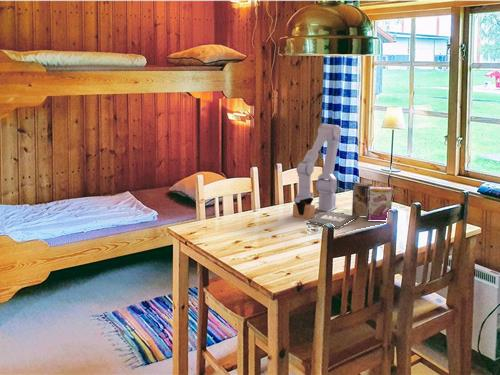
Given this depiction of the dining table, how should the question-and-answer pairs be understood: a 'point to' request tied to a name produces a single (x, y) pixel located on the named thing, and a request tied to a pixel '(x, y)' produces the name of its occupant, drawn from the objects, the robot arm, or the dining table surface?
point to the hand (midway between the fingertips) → (303, 213)
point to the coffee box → (360, 199)
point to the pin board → (332, 218)
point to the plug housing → (308, 211)
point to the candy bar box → (379, 202)
